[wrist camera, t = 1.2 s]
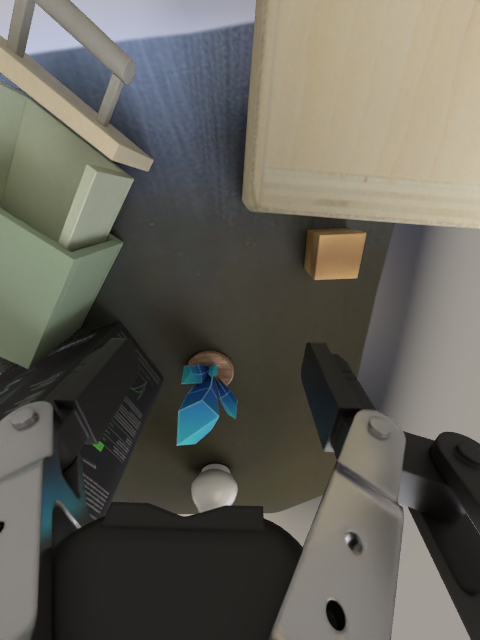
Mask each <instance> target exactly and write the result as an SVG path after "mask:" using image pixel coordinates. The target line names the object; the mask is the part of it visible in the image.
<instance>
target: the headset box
mask: <svg viewBox="0 0 480 640" xmlns="http://www.w3.org/2000/svg"><path fill="white" fill-rule="evenodd" d="M111 338H130V339H132V337H131V336H130V335H129V333H128V332H127V331H126V330H125V328H124V327H123V326H122V325H121V324H120V322H118V323H115V324H112V325H109V326H106V327H104V328H101V329H99V330H96V331H94V332H91V333H89V334H86V335H83V336H81V337H78V338H76V339H73V340H71V341H69V342H67V343H64V344H62V345H60V346H58V347H56V348H55V349H53V350H52V351H51V352H50V353H48V354H47V355H46V356H44V357H43V358H42V359H41V360H39V361H38V362H37V363H36V364H34V365H33V366H32V367H31V368H29V369H26V368H24V367H22V366H20V365H16V366H14V367H12V368H10V369H8V370H7V371H5V372H4V373H3V374H1V375H0V421H1V420H2V419H3V418H4V417H6V416H7V415H8V414H10V413H11V412H13V411H14V410H16V409H18V408H20V407H22V406H24V405H27V404H30V403H33V402H38V401H43V400H44V399H45V398H46V397H47V396H48V395H49V394H50V393H51V392H52V391H53V390H54V389H55V388H56V387H57V386H58V385H59V384H60V383H61V382H62V381H63V380H64V379H65V378H66V377H67V376H68V375H69V374H70V373H72V371H73V370H74V369H75V368H76V367H77V366H79V364H80V363H81V362H82V361H83V360H84V359H85V358H86V357H87V356H88V355H90V354H91V353H93V352H95V351H96V350H98V349H101V348H102V347H103V346H104V345H105V344H106V343H107V342H108V341H109V340H110V339H111ZM132 341H133V343H134V347H135V351H136V355H137V358H138V362H139V374H138V377H137V379H136V380H135V382H134V384H133V385H132V387H131V389H130V391H129V392H128V394H127V396H126V397H125V399H124V401H123V402H122V404H121V406H120V407H119V409H118V411H117V412H116V414H115V416H114V417H113V419H112V421H111V422H110V424H109V426H108V427H107V429H106V431H105V433H104V434H103V436H102V438H101V439H100V441H99V443H98V444H84V445H83V447H82V448H81V450H80V451H79V452H80V454H81V457H82V467H83V476H84V486H85V496H86V504H87V508H88V511H89V514H90V516H91V520H92V521H93V520H96V519H98V518H100V517H103V516H105V515H106V513H107V511H108V508H109V506H110V504H111V501H112V499H113V497H114V494H115V492H116V490H117V487H118V485H119V483H120V480H121V478H122V476H123V473H124V471H125V469H126V466H127V464H128V462H129V459H130V457H131V455H132V452H133V450H134V448H135V446H136V443H137V441H138V439H139V436H140V434H141V432H142V429H143V427H144V425H145V423H146V420H147V418H148V416H149V413H150V411H151V409H152V406H153V404H154V402H155V399H156V397H157V395H158V393H159V390H160V388H161V386H162V383H163V381H164V379H163V378H162V376H161V375H160V374H159V372H158V371H157V370H156V368H155V367H154V366H153V364H152V363H151V362H150V361H149V359H148V358H147V357H146V355H145V354H144V353H143V351H142V350H141V349H140V348H139V346H138V345H137V344H136V343H135V341H134V340H133V339H132Z"/></svg>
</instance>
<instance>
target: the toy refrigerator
mask: <svg viewBox="0 0 480 640" xmlns="http://www.w3.org/2000/svg"><path fill="white" fill-rule="evenodd" d="M242 202H243V203H244V204H245V206H246V207H247V209H248V210H249V211H252V212H261V213H276V214H289V215H302V216H314V217H327V218H340V219H353V220H367V221H380V222H393V223H406V224H419V225H432V226H447V227H460V228H475V229H480V0H256V11H255V24H254V36H253V49H252V62H251V75H250V88H249V101H248V114H247V129H246V144H245V160H244V175H243V190H242Z"/></svg>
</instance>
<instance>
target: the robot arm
mask: <svg viewBox="0 0 480 640" xmlns="http://www.w3.org/2000/svg"><path fill="white" fill-rule="evenodd" d="M138 374H139V362H138V358H137V355H136V351H135V347H134V343H133V341H132V339H130V338H111V339H110V340H109V341H108V342H107V343H106V344H105V345H104V346H103V347H102V348H101V349H98V350H96V351H95V352H93V353H91V354H90V355H88V356H87V357H86V358H85V359H84V360H83V361H82V362H81V363H80V364H79V366H77V367H76V368H75V369H74V370H73V371H72V373H70V374H69V375H68V376H67V377H66V378H65V379H64V380H63V381H62V382H61V383H60V384H59V385H58V386H57V387H56V388H55V389H54V390H53V391H52V392H51V393H50V394H49V395H48V396H47V397H46V398H45V399H44V400H43V401H38V402H33V403H30V404H27V405H24V406H22V407H20V408H18V409H16V410H14V411H13V412H11V413H10V414H8V415H7V416H6V417H4V418H3V419H2V420H1V421H0V640H391V634H392V624H393V616H394V606H395V597H396V588H397V578H398V569H399V560H400V551H401V542H402V532H403V523H404V512H403V508H402V507H401V506H400V505H398V503H400V504H402V505H405V506H408V508H409V511H410V513H411V515H412V517H413V519H414V521H415V523H416V525H417V527H418V529H419V532H420V534H421V536H422V538H423V540H424V542H425V544H426V546H427V548H428V550H429V553H430V555H431V557H432V559H433V561H434V563H435V565H436V567H437V569H438V571H439V573H440V576H441V578H442V580H443V582H444V584H445V586H446V588H447V590H448V592H449V595H450V596H451V599H452V601H453V603H454V605H455V607H456V609H457V611H458V613H459V615H460V618H461V620H462V622H463V624H464V626H465V628H466V630H467V632H468V634H469V636H470V639H471V640H480V534H479V533H480V444H479V443H477V442H476V441H474V440H472V439H471V438H469V437H466V436H464V435H461V434H458V433H454V432H443V433H441V434H440V435H439V436H438V437H437V438H436V440H435V441H434V440H431V439H427V438H424V437H420V436H417V435H413V434H410V433H407V432H404V431H403V430H402V429H401V427H400V426H399V425H398V424H397V423H396V422H395V421H394V420H393V419H391V418H390V417H388V416H387V415H385V414H383V413H381V412H379V411H377V410H376V409H375V407H374V406H373V404H372V402H371V401H370V399H369V397H368V396H367V394H366V393H365V391H364V389H363V388H362V386H361V385H360V383H359V381H357V378H356V376H355V375H354V373H352V370H351V368H350V367H349V365H348V363H347V362H346V361H345V360H344V359H342V358H341V357H340V356H339V355H337V354H331V352H330V350H329V348H328V347H327V345H326V344H325V343H307V344H306V348H305V353H304V358H303V364H302V369H301V378H302V383H303V386H304V389H305V393H306V396H307V399H308V402H309V405H310V409H311V412H312V415H313V418H314V422H315V425H316V428H317V431H318V434H319V438H320V441H321V444H322V447H323V451H324V452H334V453H335V456H336V459H337V461H336V464H335V466H334V469H333V471H332V474H331V477H330V479H329V482H328V484H327V487H326V489H325V492H324V494H323V497H322V500H321V502H320V505H319V507H318V510H317V512H316V515H315V518H314V520H313V522H312V525H311V528H310V530H309V533H308V535H307V538H306V540H305V543H304V545H303V547H302V546H301V545H300V544H299V543H298V541H297V540H296V539H295V538H293V537H292V536H291V535H290V534H289V533H288V532H287V531H285V530H284V529H283V528H281V527H280V526H278V525H276V524H275V523H273V522H271V521H269V520H266V519H264V518H263V506H229V505H225V506H222V507H218V508H215V509H211V510H208V511H205V512H201V513H198V514H194V515H191V516H187V517H183V516H180V515H177V514H175V513H172V512H170V511H167V510H165V509H162V508H159V507H157V506H154V505H152V504H149V503H126V502H111V504H110V507H109V509H108V511H107V513H106V516H103V517H100V518H98V519H96V520H93V521H92V520H91V516H90V514H89V511H88V508H87V504H86V496H85V486H84V476H83V467H82V457H81V454H80V452H79V451H80V450H81V448H82V447H83V445H84V444H98V443H99V441H100V439H101V438H102V436H103V434H104V433H105V431H106V429H107V427H108V426H109V424H110V422H111V421H112V419H113V417H114V416H115V414H116V412H117V411H118V409H119V407H120V406H121V404H122V402H123V401H124V399H125V397H126V396H127V394H128V392H129V391H130V389H131V387H132V385H133V384H134V382H135V380H136V379H137V377H138ZM466 513H467V514H466ZM467 515H468V516H469V517H468V516H467ZM469 518H470V519H471V520H470V519H469ZM471 521H472V522H473V523H472V522H471ZM473 524H474V525H475V526H474V525H473ZM475 527H476V528H477V529H476V528H475ZM477 530H478V531H479V532H478V531H477Z"/></svg>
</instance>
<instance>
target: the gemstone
mask: <svg viewBox="0 0 480 640" xmlns="http://www.w3.org/2000/svg"><path fill="white" fill-rule="evenodd" d="M233 375H234V368H233V364H232V362H231V361H230V360H229V358H227V357H226V356H225V355H223V354H221V353H219V352H215V351H203V352H199V353H197V354H195V355H194V356H193V357H192V358H191V359H190V360H189V362H188V365H187V366H184V368H183V375H182V382H181V384H182V385H188V384H195V385H194V387H193V388H192V389H191V390H190V391H189V392H188V393H187V395H186V397H185V398H184V400H183V402H182V404H181V406H180V408H179V411H178V429H177V446H178V445H190V444H196V443H197V442H198V441H199V440H201V439H202V438H203V437H204V436H205V435H206V434H207V433H209V432H210V431H211V430H212V428H213V426H214V425H215V423H216V421H217V420H218V418H219V409H218V400H217V392H218V395H219V398H220V401H221V403H222V405H223V407H224V409H225V410H226V412H227V414H228V415H230V416H231V417H233V418H235V419H236V410H237V401H238V400H237V398H236V397H235V396H234V394H233V393H232V392H231V390H230V389H229V388H228V387H227V386H226V385H228V384H229V383H230V382H231V380H232V378H233ZM216 389H217V391H216Z"/></svg>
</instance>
